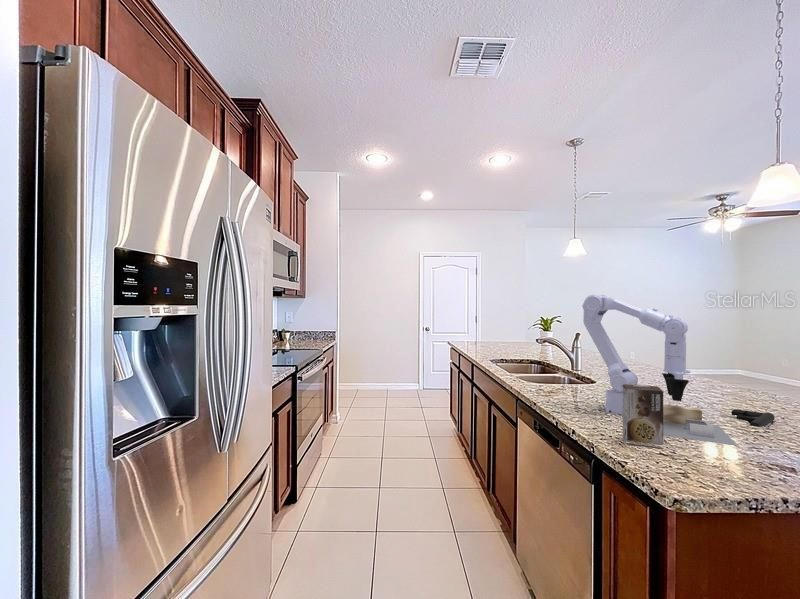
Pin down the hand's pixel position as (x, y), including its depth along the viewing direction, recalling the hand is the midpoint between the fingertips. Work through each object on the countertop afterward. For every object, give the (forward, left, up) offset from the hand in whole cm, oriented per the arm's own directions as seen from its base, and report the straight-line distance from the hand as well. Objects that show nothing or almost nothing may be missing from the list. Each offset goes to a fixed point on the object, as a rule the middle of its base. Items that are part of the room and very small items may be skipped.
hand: (674, 398), depth 129 cm
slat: (0, 0, -8) cm, 8 cm away
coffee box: (-11, -23, -10) cm, 27 cm away
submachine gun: (+22, +19, -10) cm, 31 cm away
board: (+2, -7, -9) cm, 12 cm away
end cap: (+5, -9, -8) cm, 13 cm away
